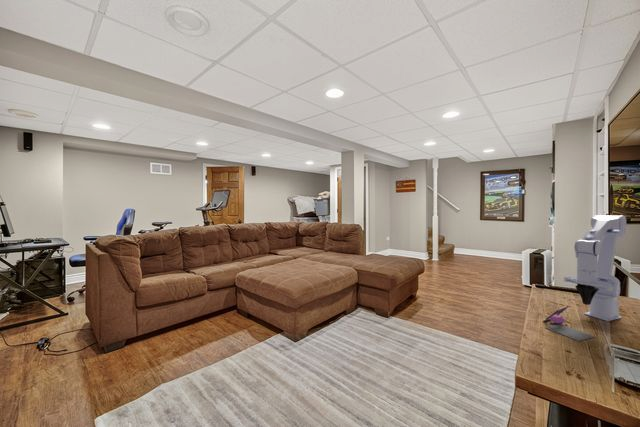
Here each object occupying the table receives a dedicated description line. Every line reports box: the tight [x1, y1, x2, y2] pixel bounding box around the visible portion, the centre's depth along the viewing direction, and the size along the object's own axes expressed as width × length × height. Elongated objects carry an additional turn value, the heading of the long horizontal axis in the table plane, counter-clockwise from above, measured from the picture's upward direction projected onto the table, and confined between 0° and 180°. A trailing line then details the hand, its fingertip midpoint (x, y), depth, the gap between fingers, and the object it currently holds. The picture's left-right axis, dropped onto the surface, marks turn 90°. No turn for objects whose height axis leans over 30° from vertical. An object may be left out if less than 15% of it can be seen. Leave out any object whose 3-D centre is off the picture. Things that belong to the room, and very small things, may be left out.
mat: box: [544, 323, 596, 342], centre depth 103 cm, size 9×11×1 cm
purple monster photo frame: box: [542, 306, 570, 325], centre depth 110 cm, size 7×5×9 cm
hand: (586, 304), depth 107 cm, fingers closed
